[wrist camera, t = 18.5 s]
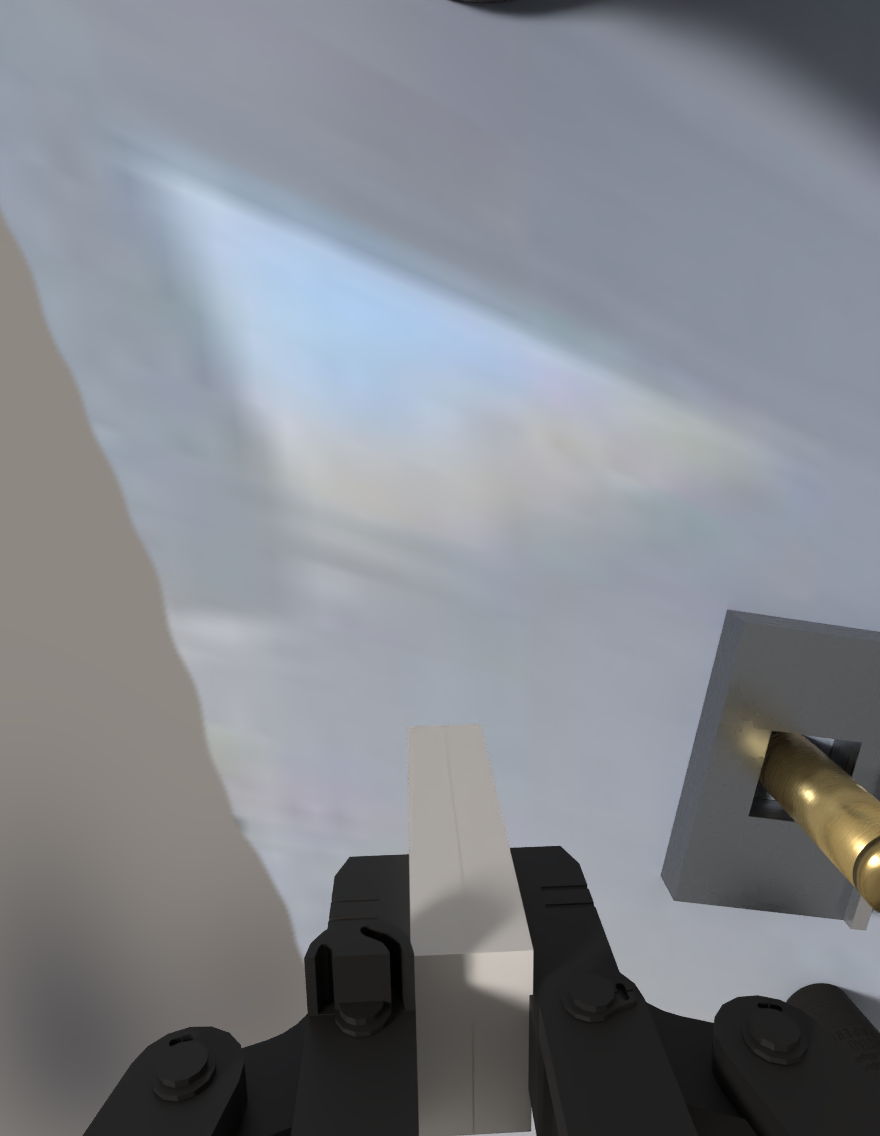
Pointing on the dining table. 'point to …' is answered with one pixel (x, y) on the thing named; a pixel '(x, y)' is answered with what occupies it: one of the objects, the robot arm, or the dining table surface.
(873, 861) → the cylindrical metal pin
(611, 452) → the dining table surface
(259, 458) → the dining table surface
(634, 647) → the dining table surface
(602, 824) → the dining table surface
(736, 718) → the jig
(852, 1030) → the black tumbler with straw
